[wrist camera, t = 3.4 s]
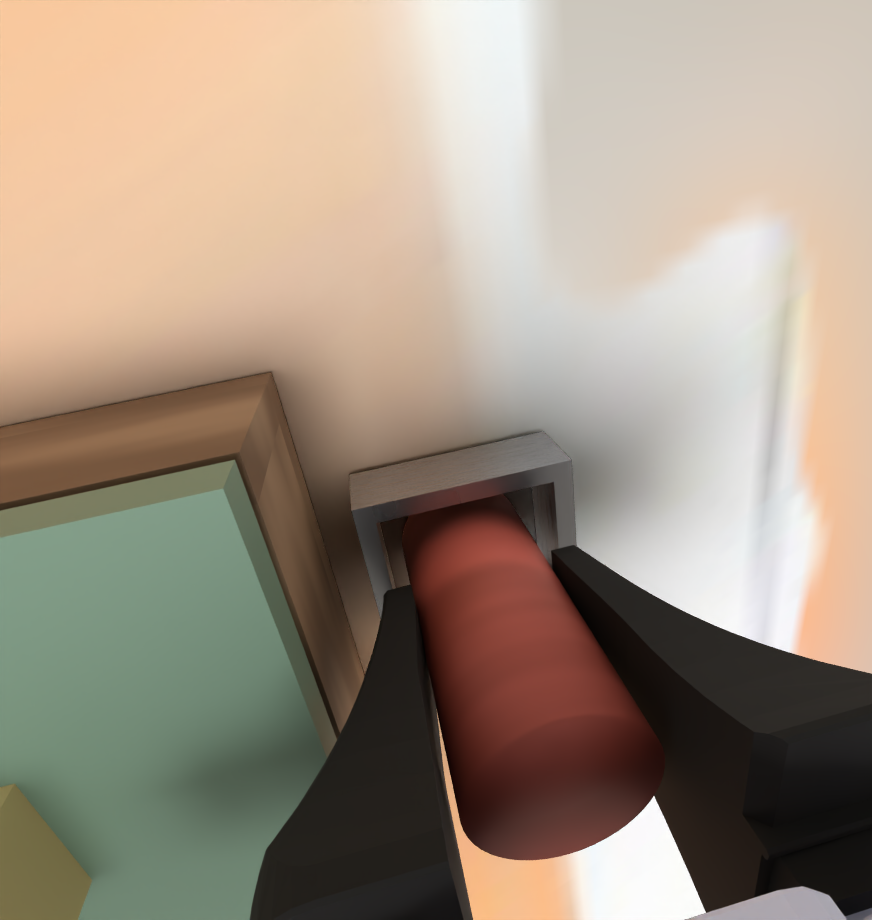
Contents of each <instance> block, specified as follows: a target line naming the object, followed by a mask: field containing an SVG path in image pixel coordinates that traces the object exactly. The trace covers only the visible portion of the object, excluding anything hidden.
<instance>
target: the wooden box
mask: <svg viewBox="0 0 872 920" xmlns="http://www.w3.org/2000/svg"><path fill="white" fill-rule="evenodd" d="M231 460H235V461H236V464H237V467H238V470H239V472H240V475H241V478H242V481H243V483H244V486H245V489H246V492H247V494H248V497H249V500H250V503H251V505H252V508H253V511H254V514H255V516H256V519H257V522H258V525H259V527H260V530H261V533H262V536H263V538H264V541H265V544H266V546H267V549H268V552H269V555H270V557H271V560H272V563H273V566H274V568H275V571H276V574H277V577H278V579H279V582H280V585H281V588H282V590H283V593H284V596H285V599H286V601H287V604H288V607H289V610H290V612H291V615H292V618H293V621H294V623H295V626H296V629H297V632H298V634H299V637H300V640H301V643H302V645H303V648H304V651H305V654H306V656H307V659H308V662H309V664H310V667H311V670H312V673H313V675H314V678H315V681H316V684H317V686H318V689H319V692H320V695H321V697H322V700H323V703H324V706H325V708H326V711H327V714H328V717H329V719H330V722H331V725H332V728H333V730H334V733H335V736H336V739H338V737H339V735H340V733H341V731H342V729H343V727H344V725H345V723H346V721H347V719H348V717H349V714H350V712H351V710H352V708H353V705H354V703H355V701H356V698H357V696H358V693H359V691H360V688H361V685H362V683H363V680H364V677H365V676H364V673H363V670H362V666H361V663H360V660H359V657H358V653H357V650H356V647H355V644H354V640H353V637H352V634H351V630H350V627H349V624H348V621H347V617H346V614H345V611H344V608H343V604H342V601H341V598H340V595H339V591H338V588H337V585H336V582H335V578H334V575H333V572H332V569H331V565H330V562H329V559H328V555H327V552H326V549H325V546H324V542H323V539H322V536H321V533H320V529H319V526H318V523H317V520H316V516H315V513H314V510H313V507H312V503H311V500H310V497H309V493H308V490H307V487H306V484H305V480H304V477H303V474H302V471H301V467H300V464H299V461H298V458H297V454H296V451H295V448H294V445H293V441H292V438H291V435H290V432H289V428H288V425H287V422H286V418H285V415H284V412H283V409H282V405H281V402H280V399H279V396H278V392H277V389H276V386H275V383H274V379H273V376H272V373H271V372H270V373H265V374H260V375H255V376H250V377H245V378H240V379H235V380H231V381H226V382H221V383H216V384H211V385H206V386H201V387H196V388H191V389H186V390H182V391H177V392H172V393H167V394H162V395H157V396H152V397H147V398H142V399H137V400H133V401H128V402H123V403H118V404H113V405H108V406H103V407H98V408H93V409H88V410H84V411H79V412H74V413H69V414H64V415H59V416H54V417H49V418H44V419H39V420H35V421H30V422H25V423H20V424H15V425H10V426H5V427H0V511H1V510H6V509H10V508H15V507H19V506H24V505H29V504H33V503H38V502H42V501H47V500H52V499H56V498H61V497H65V496H70V495H75V494H79V493H84V492H88V491H93V490H98V489H102V488H107V487H111V486H116V485H121V484H125V483H130V482H134V481H139V480H144V479H148V478H153V477H157V476H162V475H167V474H171V473H176V472H180V471H185V470H190V469H194V468H199V467H204V466H208V465H213V464H217V463H222V462H227V461H231Z"/></svg>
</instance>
